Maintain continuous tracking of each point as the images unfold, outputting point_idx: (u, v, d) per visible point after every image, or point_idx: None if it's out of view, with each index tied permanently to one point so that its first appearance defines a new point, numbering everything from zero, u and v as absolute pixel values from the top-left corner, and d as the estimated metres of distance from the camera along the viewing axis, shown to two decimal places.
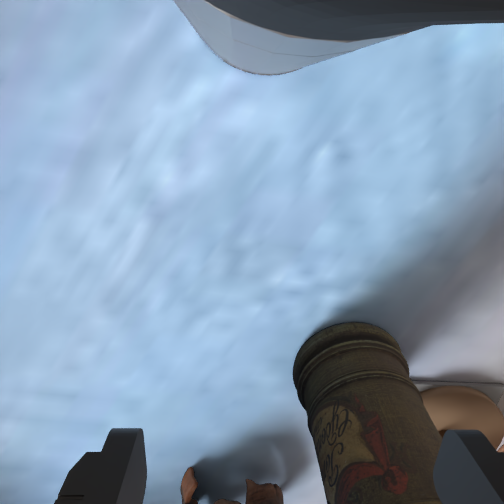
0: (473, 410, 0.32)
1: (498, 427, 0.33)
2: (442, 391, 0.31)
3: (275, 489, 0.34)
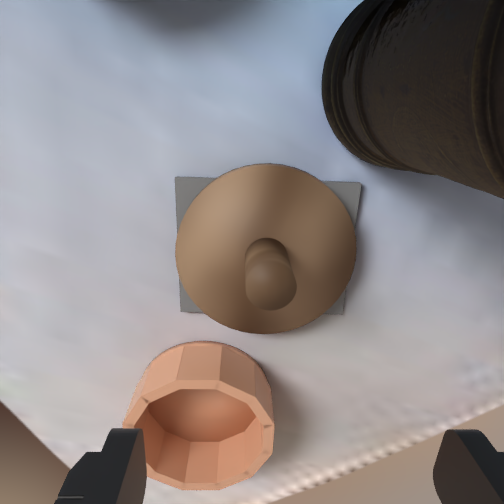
0: (323, 282, 0.23)
1: (289, 322, 0.24)
2: None
3: None
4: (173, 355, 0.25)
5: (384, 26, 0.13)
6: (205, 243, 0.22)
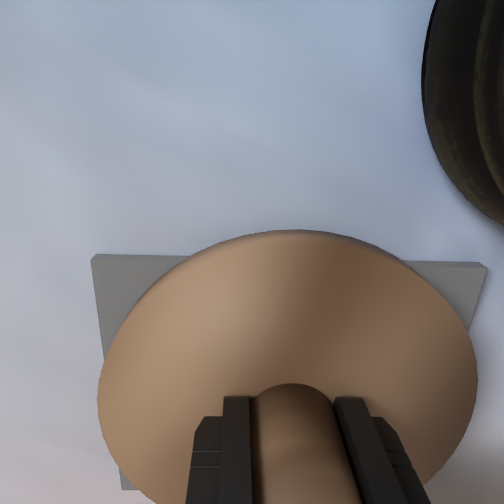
0: None
1: None
2: None
3: None
4: None
5: None
6: (161, 395, 0.10)
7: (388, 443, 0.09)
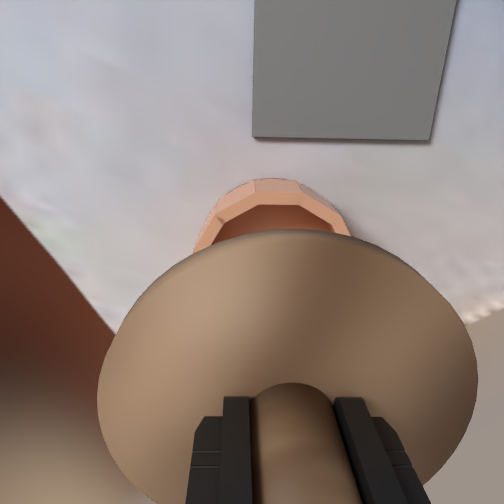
0: None
1: None
2: None
3: None
4: (243, 187, 0.23)
5: None
6: (160, 395, 0.10)
7: (388, 443, 0.09)
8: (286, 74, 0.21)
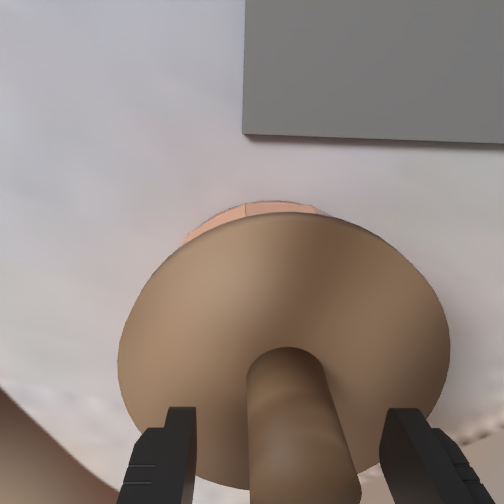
0: (384, 416, 0.13)
1: None
2: None
3: None
4: (227, 216, 0.14)
5: None
6: (173, 357, 0.12)
7: (451, 456, 0.09)
8: (301, 28, 0.12)
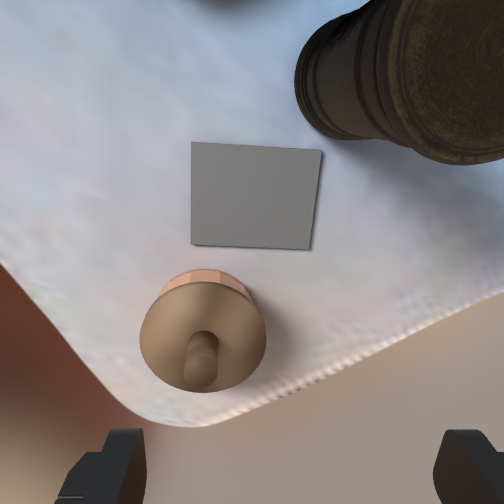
0: (244, 358, 0.33)
1: (222, 384, 0.34)
2: (264, 327, 0.32)
3: None
4: (184, 277, 0.34)
5: (327, 44, 0.23)
6: (160, 334, 0.31)
7: None
8: (212, 208, 0.32)
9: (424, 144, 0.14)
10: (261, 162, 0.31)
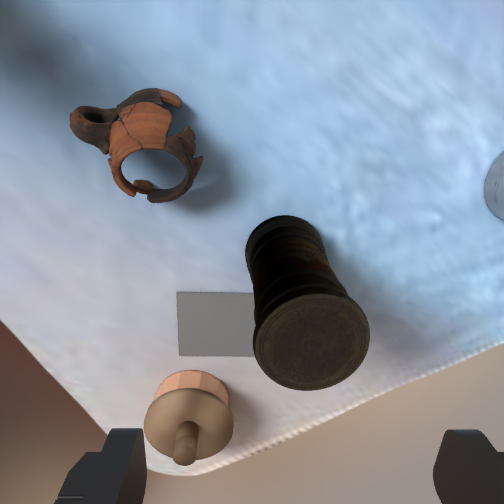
0: (218, 438, 0.46)
1: (203, 455, 0.47)
2: (231, 417, 0.45)
3: None
4: (175, 378, 0.47)
5: (255, 263, 0.35)
6: (158, 423, 0.45)
7: None
8: (193, 332, 0.45)
9: (281, 384, 0.27)
10: (226, 303, 0.44)
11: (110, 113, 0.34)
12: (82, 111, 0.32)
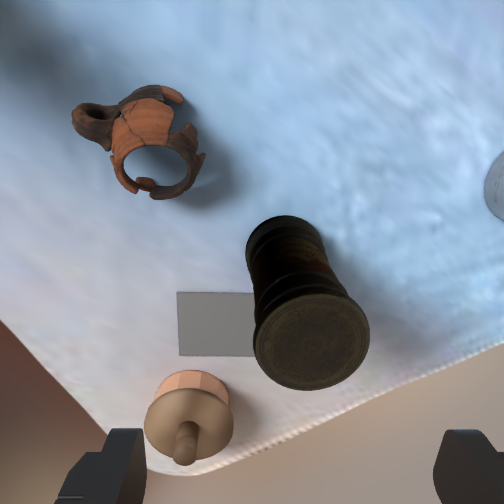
0: (218, 438, 0.46)
1: (203, 455, 0.47)
2: (231, 417, 0.45)
3: None
4: (175, 378, 0.47)
5: (255, 263, 0.35)
6: (158, 423, 0.45)
7: None
8: (193, 332, 0.45)
9: (281, 384, 0.27)
10: (226, 303, 0.44)
11: (112, 110, 0.33)
12: (84, 108, 0.32)
